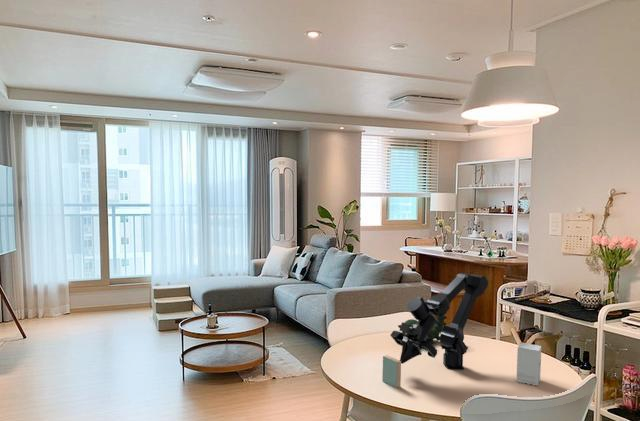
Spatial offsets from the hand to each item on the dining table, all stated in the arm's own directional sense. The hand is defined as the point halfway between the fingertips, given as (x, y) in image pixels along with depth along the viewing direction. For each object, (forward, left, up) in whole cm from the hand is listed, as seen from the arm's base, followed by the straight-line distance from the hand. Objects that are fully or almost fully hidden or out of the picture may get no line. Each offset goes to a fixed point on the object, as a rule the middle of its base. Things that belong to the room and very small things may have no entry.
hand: (400, 362), depth 163 cm
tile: (+4, +2, -7) cm, 8 cm away
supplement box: (-47, -2, -7) cm, 48 cm away
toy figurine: (-19, -46, -7) cm, 50 cm away
